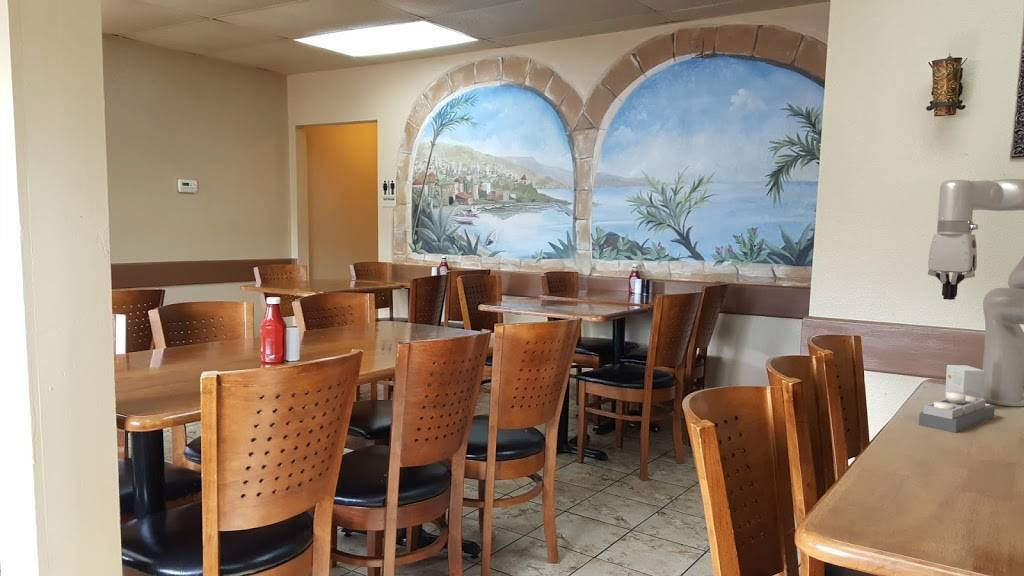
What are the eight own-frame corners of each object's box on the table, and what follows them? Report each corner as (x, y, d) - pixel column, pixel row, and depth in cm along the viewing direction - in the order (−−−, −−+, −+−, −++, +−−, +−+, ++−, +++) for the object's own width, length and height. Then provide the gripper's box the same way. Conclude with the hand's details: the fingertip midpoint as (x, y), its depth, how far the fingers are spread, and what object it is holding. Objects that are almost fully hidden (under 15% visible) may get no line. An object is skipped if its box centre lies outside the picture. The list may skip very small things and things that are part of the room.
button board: (958, 410, 185) (960, 391, 184) (994, 417, 179) (995, 398, 178) (918, 424, 170) (920, 404, 170) (955, 432, 164) (957, 411, 163)
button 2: (960, 401, 180) (961, 393, 180) (978, 404, 177) (979, 396, 177) (954, 403, 177) (954, 395, 177) (972, 406, 174) (972, 398, 174)
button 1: (937, 409, 171) (938, 400, 171) (955, 412, 168) (956, 404, 168) (930, 411, 169) (931, 403, 169) (949, 415, 166) (949, 406, 166)
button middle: (949, 398, 175) (950, 390, 175) (967, 401, 172) (968, 393, 172) (943, 400, 173) (943, 392, 173) (961, 404, 170) (962, 396, 170)
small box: (983, 410, 186) (986, 370, 185) (961, 409, 186) (964, 370, 185) (964, 402, 194) (967, 364, 193) (943, 402, 194) (946, 364, 193)
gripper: (992, 229, 179) (987, 301, 180) (929, 228, 191) (924, 296, 192) (981, 228, 174) (975, 302, 176) (917, 228, 186) (912, 297, 187)
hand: (949, 299), depth 184 cm, fingers closed
